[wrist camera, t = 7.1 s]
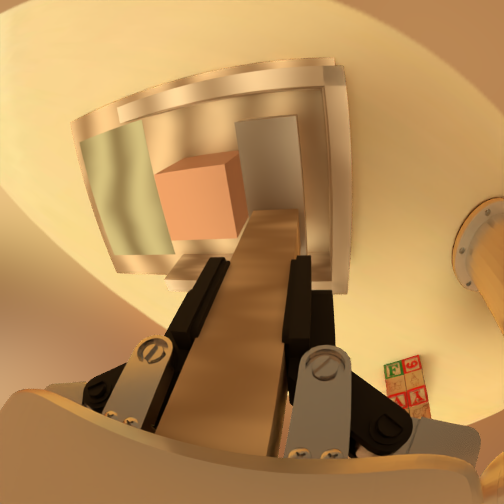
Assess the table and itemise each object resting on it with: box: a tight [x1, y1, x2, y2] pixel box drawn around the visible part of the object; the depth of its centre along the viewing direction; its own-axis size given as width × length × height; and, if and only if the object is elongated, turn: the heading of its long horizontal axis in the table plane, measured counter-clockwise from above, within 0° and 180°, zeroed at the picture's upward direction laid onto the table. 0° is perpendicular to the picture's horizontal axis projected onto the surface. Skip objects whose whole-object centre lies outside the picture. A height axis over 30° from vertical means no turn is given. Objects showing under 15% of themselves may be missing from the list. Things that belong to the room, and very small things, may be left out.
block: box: [154, 150, 248, 241], centre depth 23 cm, size 6×6×6 cm
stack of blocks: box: [384, 355, 431, 419], centre depth 35 cm, size 21×6×12 cm, turn 28°
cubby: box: [70, 58, 352, 294], centre depth 25 cm, size 30×22×6 cm
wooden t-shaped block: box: [155, 114, 308, 457], centre depth 11 cm, size 3×12×16 cm, turn 8°
